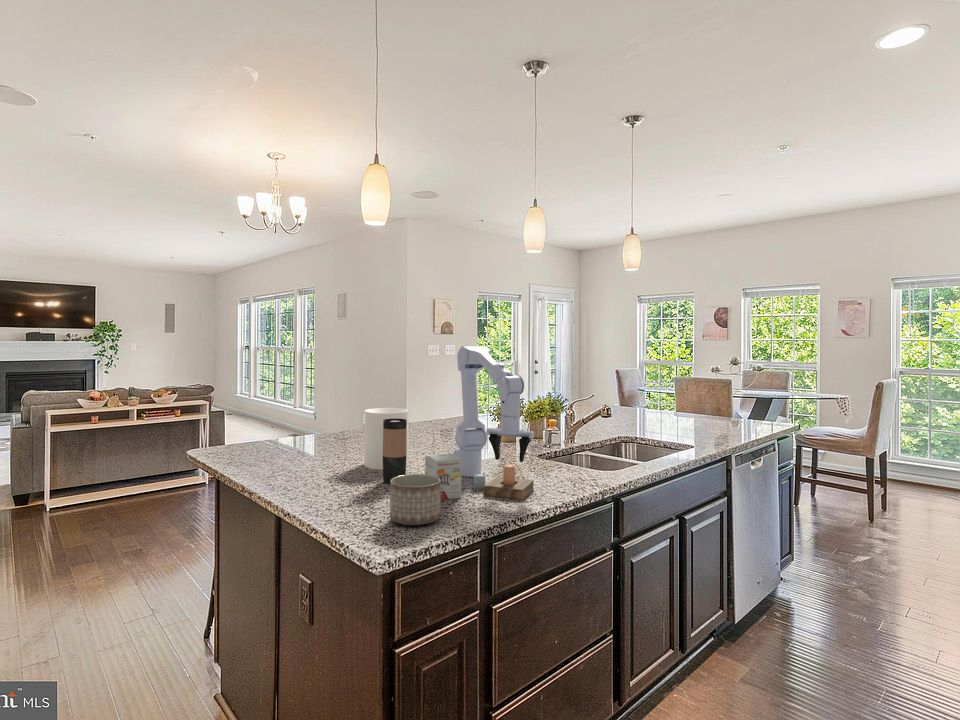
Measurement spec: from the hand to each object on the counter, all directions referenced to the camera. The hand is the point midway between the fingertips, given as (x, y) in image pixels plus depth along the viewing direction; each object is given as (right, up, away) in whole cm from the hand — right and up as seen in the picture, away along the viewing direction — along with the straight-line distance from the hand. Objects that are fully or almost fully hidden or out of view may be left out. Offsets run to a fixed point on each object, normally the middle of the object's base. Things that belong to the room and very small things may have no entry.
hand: (509, 460), depth 163 cm
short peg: (-9, -10, +5) cm, 14 cm away
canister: (-43, -8, +35) cm, 57 cm away
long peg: (0, -10, 0) cm, 10 cm away
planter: (-25, -11, -26) cm, 38 cm away
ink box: (-20, -10, -4) cm, 23 cm away
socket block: (0, -10, 0) cm, 10 cm away
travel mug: (-37, -9, +11) cm, 39 cm away
